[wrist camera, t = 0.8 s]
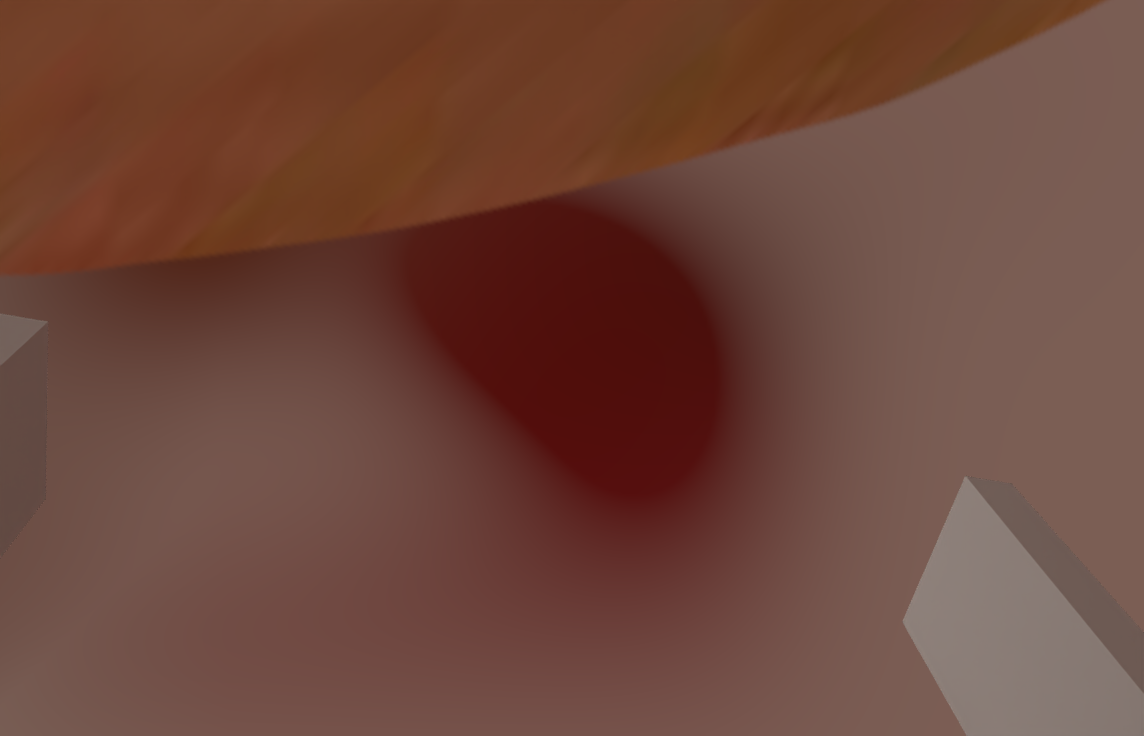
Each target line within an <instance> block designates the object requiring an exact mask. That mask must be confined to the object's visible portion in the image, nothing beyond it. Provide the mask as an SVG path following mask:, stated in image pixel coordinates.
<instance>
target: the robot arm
mask: <svg viewBox="0 0 1144 736" xmlns="http://www.w3.org/2000/svg"><path fill="white" fill-rule="evenodd" d="M47 359H48V322H47V321H41V320H35V319H29V318H23V317H17V316H11V315H6V314H0V558H1V557H2V555H3V554H4V553H5V552H6V550H7V549H8V547H9V546H10V545H11V544H12V542H13V541H14V540H15V538H16V537H17V536H18V534H19V533H20V532H21V530H22V529H23V528H24V526H25V525H26V524H27V523H28V521H29V520H30V519H31V517H32V516H33V515H34V513H35V512H36V511H37V510H38V508H39V507H40V505H41V504H42V503H43V502H44V500H45V497H46V493H45V492H46V429H47V362H48V360H47ZM903 624H904V626H905V627H906V629H907V631H908V633H909V634H910V636H911V638H912V640H913V641H914V643H915V645H916V647H917V649H918V650H919V652H920V654H921V656H922V657H923V659H924V661H925V663H926V665H927V666H928V668H929V670H930V671H931V673H932V675H933V677H934V678H935V680H936V682H937V684H938V686H939V688H940V689H941V691H942V693H943V695H944V696H945V698H946V700H947V702H948V703H949V705H950V707H951V709H952V711H953V712H954V714H955V716H956V718H957V719H958V721H959V723H960V725H961V727H962V728H963V730H964V732H965V734H966V735H967V736H1144V632H1143V631H1142V630H1141V629H1140V628H1139V626H1138V625H1137V624H1136V623H1135V622H1134V621H1133V620H1132V619H1131V617H1130V616H1129V615H1128V614H1127V613H1126V612H1125V611H1124V610H1123V609H1122V607H1121V606H1120V605H1119V604H1118V603H1117V602H1116V601H1115V599H1114V598H1113V597H1112V596H1111V595H1110V594H1109V593H1108V592H1107V591H1106V589H1105V588H1104V587H1103V586H1102V585H1101V584H1100V582H1099V581H1098V580H1097V579H1096V578H1095V577H1094V576H1093V575H1092V574H1091V572H1090V571H1089V570H1088V569H1087V568H1086V567H1085V566H1084V565H1083V563H1082V562H1081V561H1080V560H1079V559H1078V558H1077V557H1076V555H1075V554H1074V553H1073V552H1072V551H1071V550H1070V549H1069V548H1068V546H1067V545H1066V544H1065V543H1064V542H1063V541H1062V540H1061V539H1060V538H1059V536H1058V535H1057V534H1056V533H1055V532H1054V531H1053V530H1052V529H1051V527H1050V526H1049V525H1048V524H1047V523H1046V522H1045V521H1044V520H1043V518H1042V517H1041V516H1040V515H1039V514H1038V513H1037V512H1036V511H1035V509H1034V508H1033V507H1032V506H1031V505H1030V504H1029V503H1028V502H1027V500H1026V499H1025V498H1024V497H1023V496H1022V495H1021V494H1020V493H1019V491H1018V490H1017V489H1016V488H1015V487H1014V486H1013V485H1012V484H1011V483H1004V482H999V481H993V480H987V479H981V478H974V477H969V476H965V478H964V480H963V483H962V485H961V487H960V490H959V492H958V494H957V497H956V499H955V501H954V504H953V506H952V508H951V510H950V513H949V515H948V517H947V520H946V522H945V525H944V527H943V529H942V531H941V534H940V536H939V538H938V541H937V543H936V545H935V548H934V550H933V552H932V554H931V557H930V559H929V561H928V564H927V566H926V568H925V571H924V573H923V575H922V578H921V580H920V582H919V585H918V587H917V589H916V592H915V594H914V596H913V599H912V601H911V603H910V606H909V608H908V610H907V612H906V615H905V617H904V620H903Z"/></svg>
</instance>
